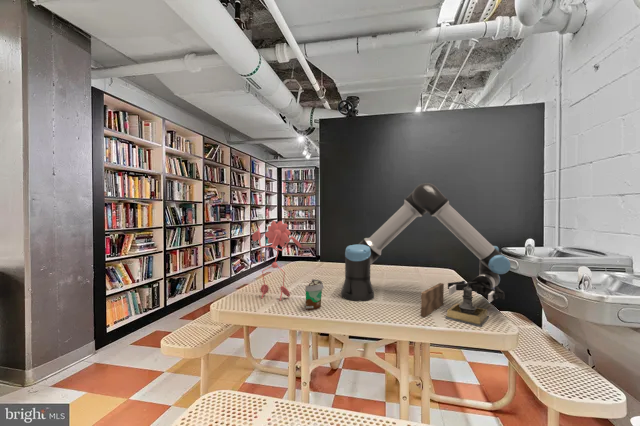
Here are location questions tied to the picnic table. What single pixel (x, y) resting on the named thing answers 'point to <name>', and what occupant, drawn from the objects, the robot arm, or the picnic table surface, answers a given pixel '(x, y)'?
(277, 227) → the pink tall figurine
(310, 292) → the food container
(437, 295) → the board
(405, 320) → the picnic table surface
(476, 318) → the yellow square tray
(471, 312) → the salt shaker
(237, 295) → the picnic table surface
